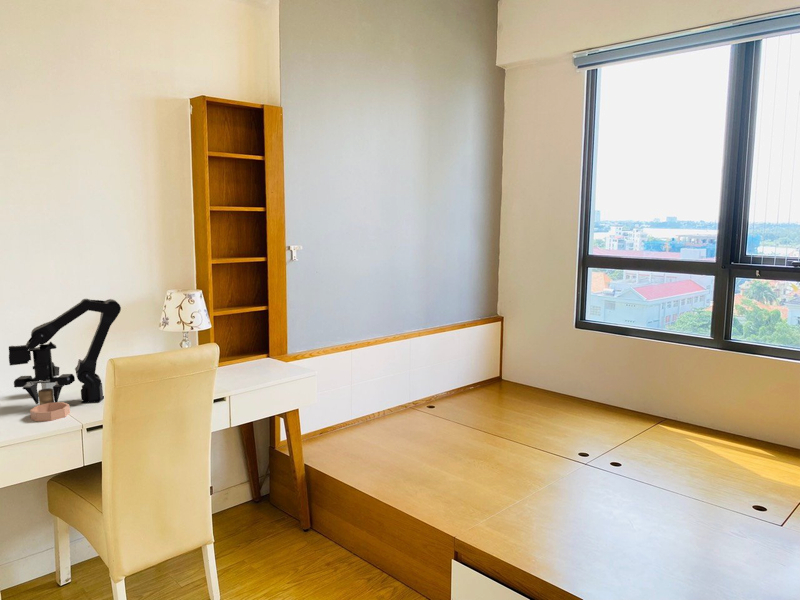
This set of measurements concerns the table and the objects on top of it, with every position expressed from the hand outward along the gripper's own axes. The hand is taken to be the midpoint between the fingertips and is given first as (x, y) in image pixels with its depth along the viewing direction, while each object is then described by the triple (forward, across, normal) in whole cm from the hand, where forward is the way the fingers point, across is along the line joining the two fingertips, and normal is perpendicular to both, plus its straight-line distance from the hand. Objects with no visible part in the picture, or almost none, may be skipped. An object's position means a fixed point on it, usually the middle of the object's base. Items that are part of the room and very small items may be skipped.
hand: (46, 403), depth 230 cm
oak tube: (+2, 0, 0) cm, 2 cm away
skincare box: (+2, +6, -18) cm, 19 cm away
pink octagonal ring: (+2, -5, +10) cm, 11 cm away
